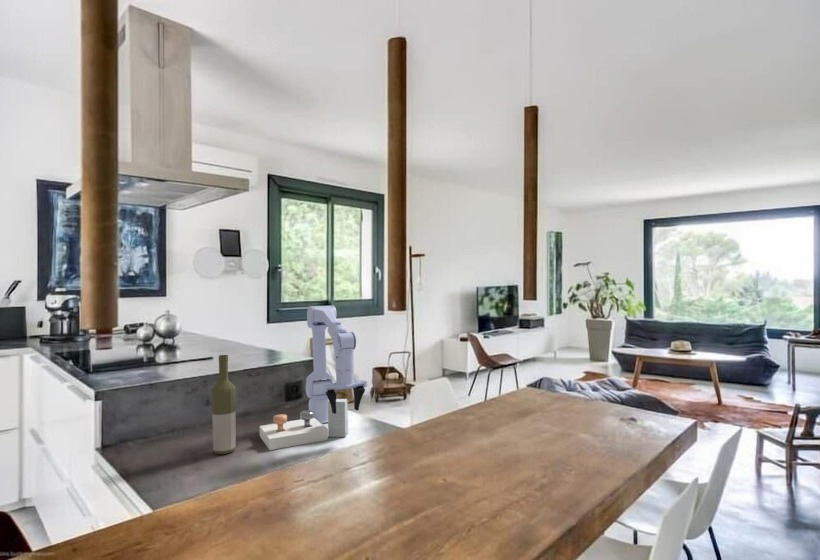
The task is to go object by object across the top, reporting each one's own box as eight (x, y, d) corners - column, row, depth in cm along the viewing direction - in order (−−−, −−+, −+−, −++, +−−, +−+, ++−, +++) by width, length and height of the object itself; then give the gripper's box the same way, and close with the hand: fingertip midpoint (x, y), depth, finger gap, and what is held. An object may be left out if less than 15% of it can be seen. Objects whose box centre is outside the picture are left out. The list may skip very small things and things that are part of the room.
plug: (298, 426, 158) (298, 411, 158) (311, 424, 160) (311, 409, 160) (302, 430, 154) (302, 414, 154) (315, 428, 156) (315, 412, 156)
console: (259, 436, 158) (259, 425, 158) (313, 427, 167) (313, 417, 168) (269, 450, 144) (269, 439, 144) (328, 439, 153) (327, 429, 154)
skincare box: (348, 433, 160) (347, 398, 160) (345, 437, 155) (345, 401, 156) (331, 433, 160) (330, 398, 160) (327, 437, 156) (327, 401, 156)
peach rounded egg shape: (272, 431, 154) (271, 415, 154) (285, 429, 156) (285, 413, 156) (275, 434, 150) (274, 418, 150) (288, 432, 152) (288, 416, 152)
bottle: (207, 456, 140) (206, 357, 141) (218, 447, 147) (217, 353, 148) (230, 456, 140) (229, 357, 140) (240, 448, 147) (239, 353, 147)
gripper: (326, 373, 144) (327, 417, 144) (370, 369, 151) (370, 411, 150) (320, 370, 150) (321, 412, 150) (362, 366, 157) (362, 406, 157)
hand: (345, 411), depth 151 cm, fingers open, 7 cm apart
